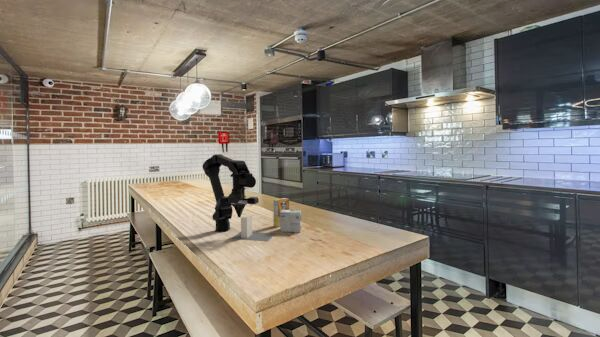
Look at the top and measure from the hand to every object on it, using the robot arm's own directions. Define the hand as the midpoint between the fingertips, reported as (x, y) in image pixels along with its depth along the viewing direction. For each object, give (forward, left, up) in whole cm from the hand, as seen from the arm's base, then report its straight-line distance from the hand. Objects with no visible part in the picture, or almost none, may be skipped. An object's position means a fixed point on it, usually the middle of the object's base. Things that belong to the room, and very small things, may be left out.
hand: (239, 217), depth 162 cm
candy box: (+15, +24, -10) cm, 30 cm away
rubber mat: (+7, 0, -10) cm, 12 cm away
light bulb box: (+23, +15, -10) cm, 29 cm away
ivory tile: (+4, 0, -9) cm, 10 cm away
